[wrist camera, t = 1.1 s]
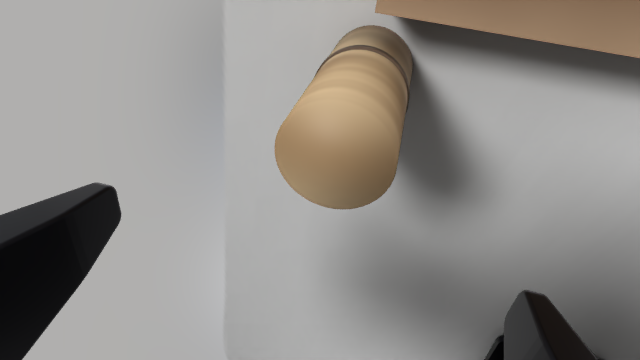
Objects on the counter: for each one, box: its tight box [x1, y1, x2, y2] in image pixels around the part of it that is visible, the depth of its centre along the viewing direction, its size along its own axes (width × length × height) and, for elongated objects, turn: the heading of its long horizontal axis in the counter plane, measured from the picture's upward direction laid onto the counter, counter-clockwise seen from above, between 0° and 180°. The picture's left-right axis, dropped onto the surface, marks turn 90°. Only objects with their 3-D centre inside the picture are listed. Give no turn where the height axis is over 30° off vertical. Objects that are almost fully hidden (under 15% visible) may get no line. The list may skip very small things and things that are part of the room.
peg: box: [275, 25, 413, 209], centre depth 15 cm, size 4×4×8 cm
